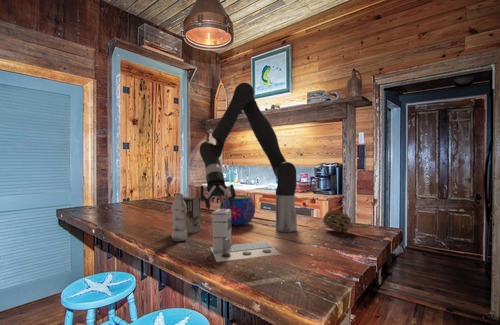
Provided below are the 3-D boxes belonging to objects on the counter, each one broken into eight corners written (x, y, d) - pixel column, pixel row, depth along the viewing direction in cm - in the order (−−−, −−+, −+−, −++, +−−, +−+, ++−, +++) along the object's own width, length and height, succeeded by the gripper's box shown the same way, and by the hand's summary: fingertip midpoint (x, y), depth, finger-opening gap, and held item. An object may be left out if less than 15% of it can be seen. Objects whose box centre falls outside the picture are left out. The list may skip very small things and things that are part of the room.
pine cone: (319, 231, 123) (319, 210, 123) (326, 227, 131) (326, 207, 131) (370, 239, 111) (369, 216, 111) (374, 234, 119) (374, 212, 118)
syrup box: (228, 251, 94) (227, 211, 94) (212, 251, 95) (212, 211, 95) (232, 246, 99) (231, 208, 99) (217, 245, 100) (216, 208, 100)
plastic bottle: (190, 239, 113) (190, 193, 113) (181, 244, 106) (181, 195, 106) (177, 238, 115) (177, 192, 115) (168, 242, 109) (167, 194, 108)
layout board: (266, 243, 106) (266, 240, 106) (281, 256, 92) (281, 253, 92) (210, 249, 99) (210, 246, 99) (216, 264, 85) (216, 261, 85)
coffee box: (201, 230, 128) (200, 197, 128) (193, 233, 122) (193, 199, 122) (185, 228, 131) (185, 196, 131) (177, 231, 125) (177, 198, 125)
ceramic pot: (236, 219, 151) (235, 193, 151) (261, 223, 141) (261, 195, 140) (215, 225, 137) (215, 197, 137) (242, 230, 126) (241, 199, 126)
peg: (229, 254, 92) (229, 237, 92) (230, 257, 89) (230, 239, 89) (221, 255, 91) (221, 238, 91) (223, 257, 88) (223, 240, 88)
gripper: (198, 171, 108) (202, 202, 97) (232, 170, 112) (239, 200, 102) (197, 182, 113) (201, 214, 103) (229, 181, 118) (236, 211, 107)
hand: (219, 207), depth 102 cm, fingers open, 8 cm apart
